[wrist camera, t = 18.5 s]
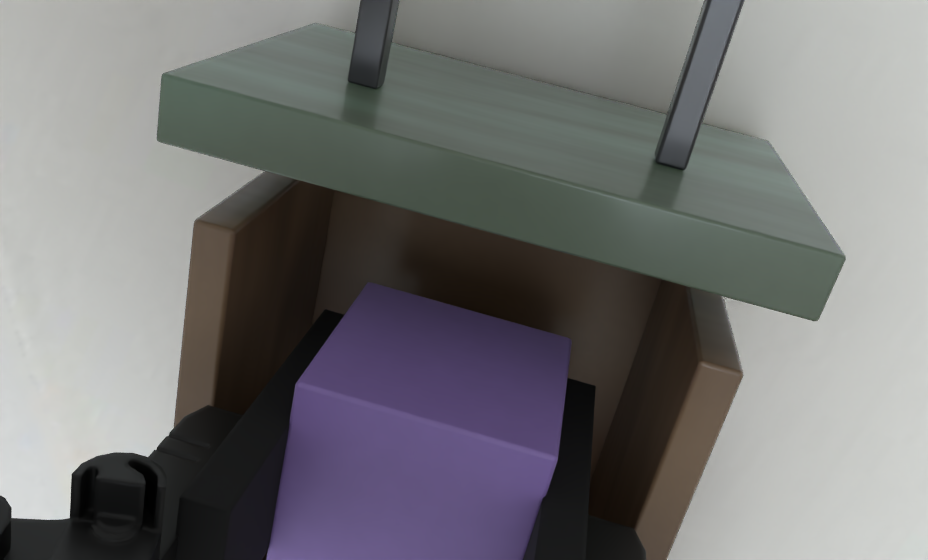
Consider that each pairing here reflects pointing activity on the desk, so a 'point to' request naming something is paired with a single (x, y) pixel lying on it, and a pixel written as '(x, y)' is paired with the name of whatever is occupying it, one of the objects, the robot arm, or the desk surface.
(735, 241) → the green drawer
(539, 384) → the lavender cube
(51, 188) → the desk surface
